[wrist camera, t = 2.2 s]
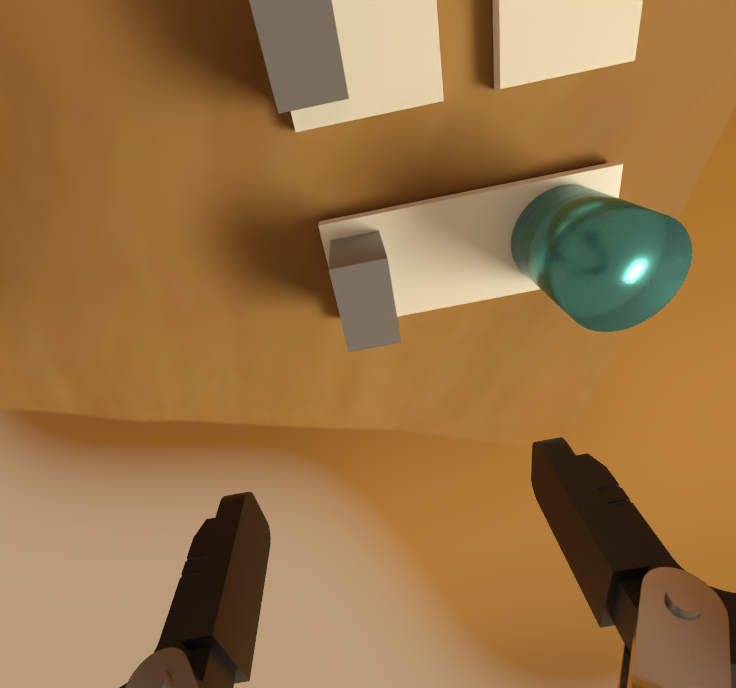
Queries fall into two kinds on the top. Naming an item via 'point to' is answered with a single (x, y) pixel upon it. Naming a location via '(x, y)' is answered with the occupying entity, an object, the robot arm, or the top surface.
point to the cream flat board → (435, 252)
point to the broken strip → (422, 50)
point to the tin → (601, 256)
